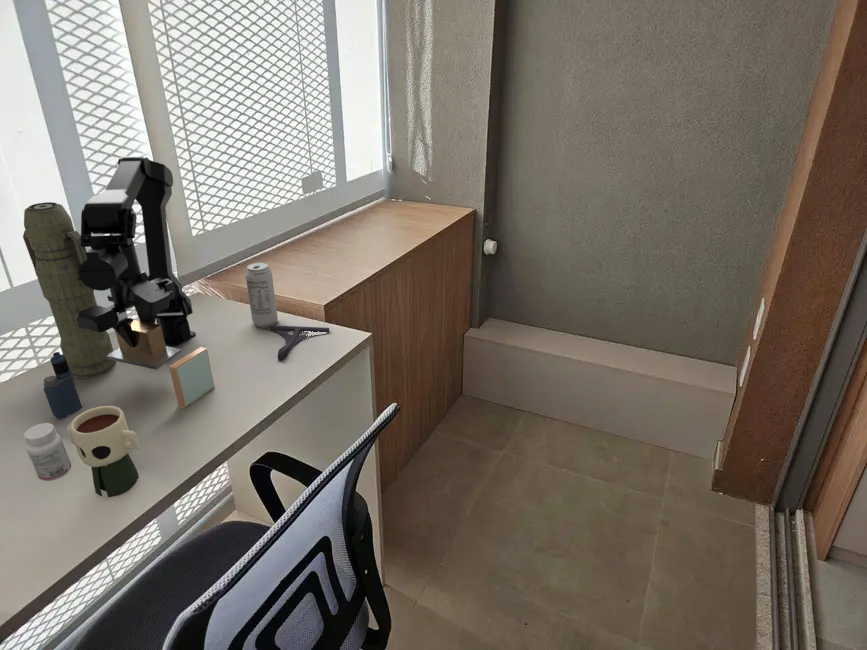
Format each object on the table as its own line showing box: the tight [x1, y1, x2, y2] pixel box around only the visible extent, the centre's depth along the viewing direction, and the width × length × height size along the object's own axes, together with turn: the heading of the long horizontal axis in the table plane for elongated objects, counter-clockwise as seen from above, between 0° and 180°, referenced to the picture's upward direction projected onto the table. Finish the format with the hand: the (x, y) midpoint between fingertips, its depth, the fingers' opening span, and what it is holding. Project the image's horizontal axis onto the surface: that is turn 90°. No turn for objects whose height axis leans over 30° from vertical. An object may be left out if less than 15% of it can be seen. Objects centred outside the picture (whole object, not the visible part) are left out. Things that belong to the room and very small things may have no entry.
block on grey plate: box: [106, 319, 183, 371], centre depth 112 cm, size 12×7×7 cm, turn 72°
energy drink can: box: [244, 261, 279, 328], centre depth 136 cm, size 6×6×15 cm
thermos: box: [22, 201, 117, 379], centre depth 113 cm, size 9×12×35 cm
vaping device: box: [43, 351, 83, 420], centre depth 104 cm, size 3×5×12 cm, turn 161°
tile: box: [168, 346, 215, 409], centre depth 110 cm, size 2×8×9 cm, turn 156°
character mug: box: [66, 405, 140, 498], centre depth 87 cm, size 11×7×13 cm, turn 83°
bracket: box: [268, 324, 330, 361], centre depth 130 cm, size 14×15×3 cm
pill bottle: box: [23, 422, 72, 482], centre depth 91 cm, size 5×5×8 cm
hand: (141, 342), depth 112 cm, fingers closed on block on grey plate, 4 cm apart
